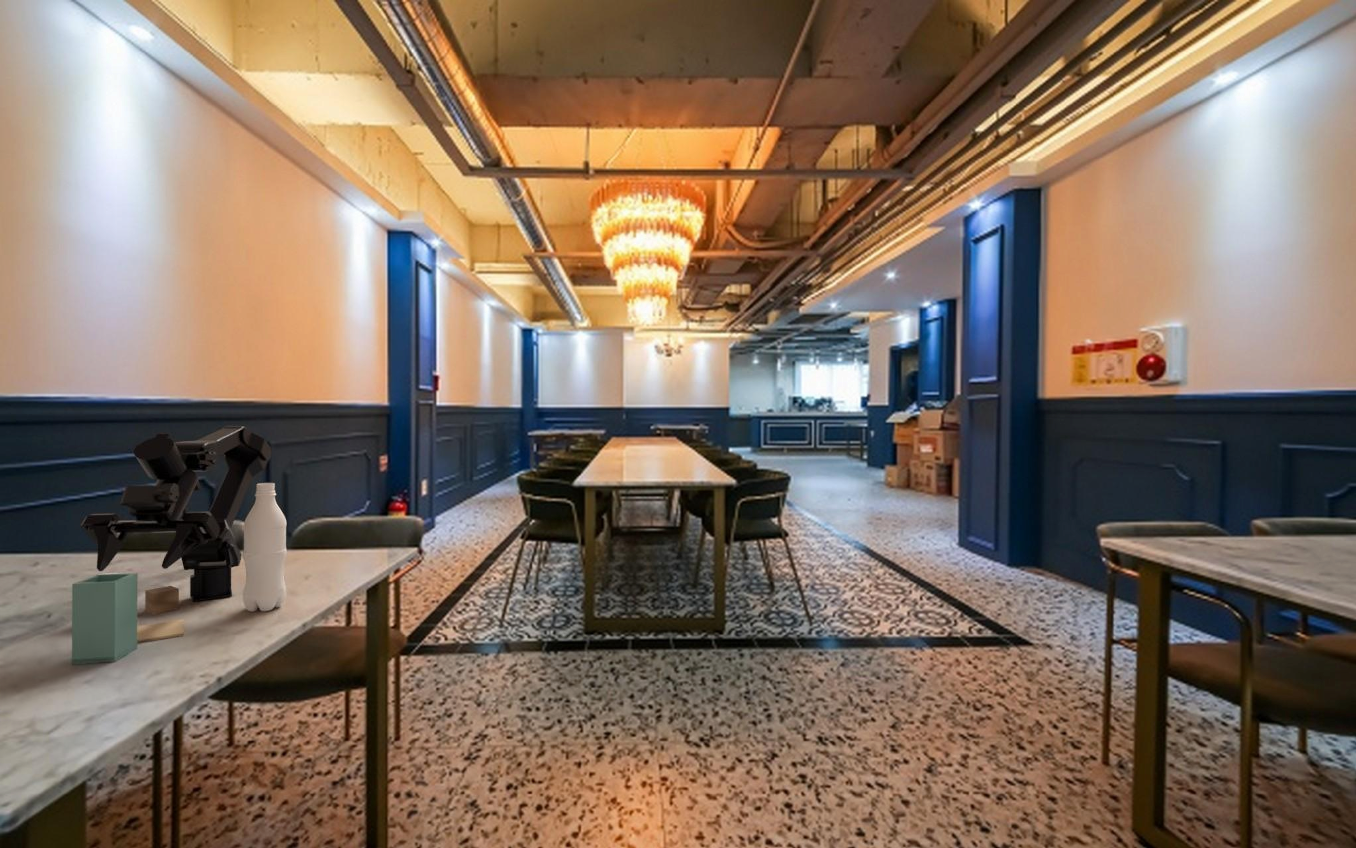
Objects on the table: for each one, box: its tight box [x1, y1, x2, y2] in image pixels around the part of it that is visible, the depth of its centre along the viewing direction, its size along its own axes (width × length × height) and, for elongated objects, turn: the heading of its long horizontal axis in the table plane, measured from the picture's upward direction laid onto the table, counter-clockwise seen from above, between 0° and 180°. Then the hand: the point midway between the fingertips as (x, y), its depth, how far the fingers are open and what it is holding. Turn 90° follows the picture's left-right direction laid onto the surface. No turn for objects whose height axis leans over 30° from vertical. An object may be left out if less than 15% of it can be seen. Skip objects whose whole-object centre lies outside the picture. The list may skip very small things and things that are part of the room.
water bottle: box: [242, 482, 288, 613], centre depth 120 cm, size 7×7×25 cm
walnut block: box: [144, 585, 180, 615], centre depth 119 cm, size 4×4×4 cm
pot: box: [71, 572, 139, 666], centre depth 96 cm, size 6×6×12 cm
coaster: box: [137, 618, 185, 644], centre depth 106 cm, size 9×9×1 cm
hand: (131, 568), depth 102 cm, fingers open, 9 cm apart
